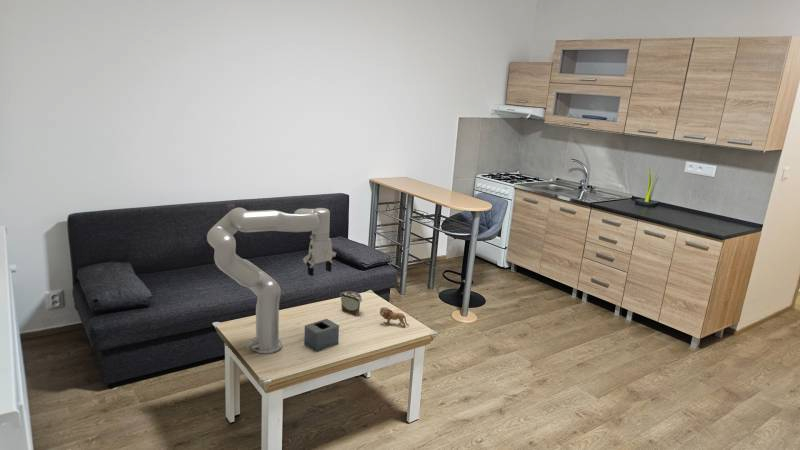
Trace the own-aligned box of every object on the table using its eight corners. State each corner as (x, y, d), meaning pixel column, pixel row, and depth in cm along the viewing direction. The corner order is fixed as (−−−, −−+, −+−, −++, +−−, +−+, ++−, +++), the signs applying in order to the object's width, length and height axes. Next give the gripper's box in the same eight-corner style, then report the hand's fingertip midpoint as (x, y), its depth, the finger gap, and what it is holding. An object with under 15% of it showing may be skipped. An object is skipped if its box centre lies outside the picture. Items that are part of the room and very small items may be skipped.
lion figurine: (378, 326, 255) (379, 309, 253) (379, 321, 260) (380, 304, 258) (408, 328, 255) (410, 311, 253) (409, 323, 260) (410, 306, 258)
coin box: (316, 352, 227) (316, 332, 225) (304, 344, 233) (304, 325, 231) (338, 343, 235) (339, 325, 233) (326, 336, 241) (326, 318, 239)
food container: (366, 313, 269) (366, 295, 266) (358, 317, 263) (359, 298, 261) (346, 307, 275) (347, 289, 272) (339, 310, 270) (340, 292, 267)
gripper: (309, 241, 222) (308, 279, 226) (341, 235, 234) (340, 271, 238) (299, 237, 227) (298, 274, 231) (331, 231, 239) (330, 267, 243)
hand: (319, 273), depth 235 cm, fingers open, 9 cm apart
